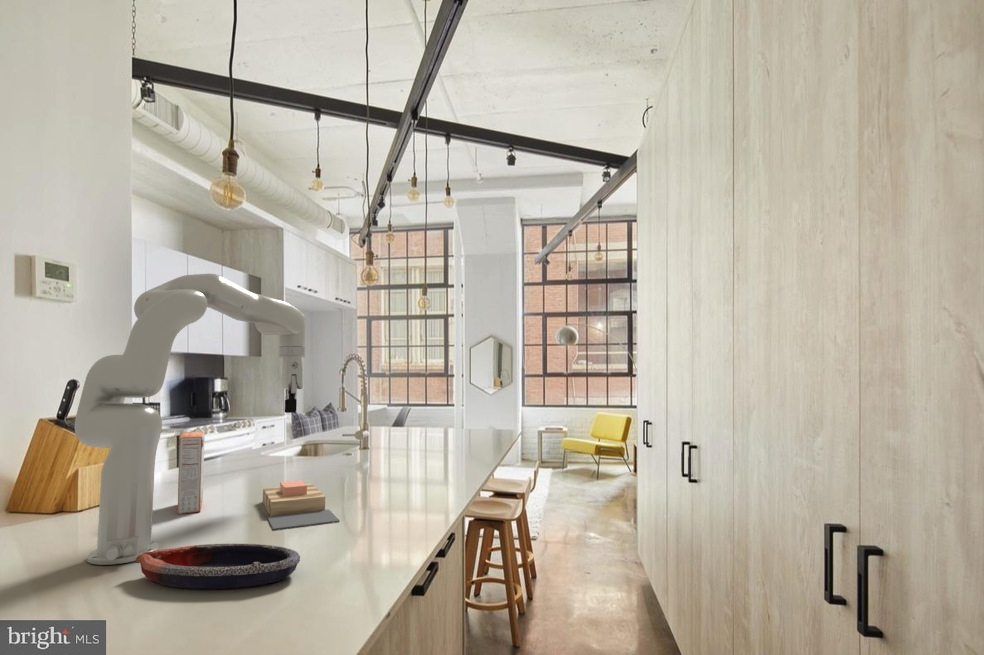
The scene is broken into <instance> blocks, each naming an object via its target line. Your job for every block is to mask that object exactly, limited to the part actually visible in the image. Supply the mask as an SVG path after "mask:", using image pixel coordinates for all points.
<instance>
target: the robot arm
mask: <svg viewBox="0 0 984 655" xmlns="http://www.w3.org/2000/svg"><path fill="white" fill-rule="evenodd" d="M207 308H210V309H212V310H213V311H217V312H218V313H221V314H223V315H225V316H227V317H230V318H232V319H234V320H236V321H241V322H245V323H254V325H255V328H256V330H257V331H258V332H259V333H260V334H263V335H266V336H279V337H278V340H279V342H278V343H279V344H278V345H279V346H278V358H282V364H281V365H282V367H281V368H282V369H281V374H282V375H281V384H282V385H281V386H282V389H283V390H285V393H284V395H285V396H284V397H285V398H284V413H285V414H290V413H292V414H293V413H297V403H298V402H297V401H298V400H297V393H298V392H297V391H298V390H302V389H303V387H304V384H303V382H304V381H303V380H304V378H303V377H304V376H303V358H305V357H306V356H305V355H306V315H305V314H303V313H302V311H300V309H298V308H296V307H295V306H293V305H292V304H290V303H288V302H286V301H283V300H279V299H276V298H273V297H270V296H265V295H263V294H260V293H259V294H258V293H255V292H252V291H250V290H248V289H246V288H244V287H243V286H240V285H238V284H236V283H235V282H233V281H231V280H230V279H227V278H225V277H224V276H221V275H219V274H216V273H199V274H197V273H196V274H195V273H194V274H185V275H180V276H178V277H176V278H174V279H172V280H168V281H166V282H165V283H162V284H160V285H158V286H155V287H152V288H151V289H148V290H146V291H145V292H143V293H141V294H140V295H139V296H138V297H137V299H136V300H135V302H134V305H133V311H134V315H135V317H136V318H137V319H136V321H135V322H134V324H133V325H132V328H131V330H130V332H129V333H130V334H129V336H128V339H127V343H126V345H125V349H124V352H123V353H122V354H111V355H106V356H104V357H101V358H99V359H98V360H96V361H95V362H94V364H92V366H91V367H90V368H89V370H88V372H87V374H86V377H85V381H84V384H83V387H82V392H81V396H80V399H79V402H78V406H77V411H76V414H75V421H74V433H75V436H76V438H77V440H78V442H80V443H81V444H83V445H85V446H87V447H91V448H100V449H101V448H102V449H109V452H108V454H107V456H106V457H105V460H104V462H103V465H102V468H101V472H100V487H99V490H100V492H99V510H98V525H97V528H98V529H97V540H96V541H97V542H96V543H97V544H96V548H95V549H94V550H91V551H90V552H89V553H87V555H86V561H87V563H89V564H92V565H97V566H111V565H121V564H126V563H133V562H136V557H137V556H138V555H140V554H142V553H145V552H152V551H157V550H160V544H159V543H158V542H155V541H152V530H153V529H152V526H153V508H154V488H155V467H156V466H155V465H156V464H155V463H156V456H157V450H158V444H159V442H160V437H161V434H162V431H163V430H162V429H163V420H162V418H161V415H160V413H159V412H158V411H157V410H156V409H155V408H153V407H151V406H149V405H147V404H143V403H126V402H125V400H126V398H127V399H133V398H134V399H137V398H139V399H140V398H141V399H142V398H143V399H144V398H149V397H153V396H155V395H157V394H158V393H160V392H161V390H162V388H163V385H164V382H165V378H166V374H167V369H168V365H169V361H170V356H171V351H172V347H173V344H174V341H175V339H176V337H177V336H178V334H179V333H180V332H181V331H182V330H183V329H185V327H187V326H189V325H190V324H193V323H195V322H198V321H199V320H200V319H201V318H202V317H203V316H204V315H205V313H206V311H207ZM124 402H125V403H124Z"/></svg>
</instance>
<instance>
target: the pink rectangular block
mask: <svg viewBox="0 0 984 655" xmlns="http://www.w3.org/2000/svg"><path fill="white" fill-rule="evenodd" d="M306 484H307V483H305V482H304V481H303V479H297V480H289V481H288V480H287V481H280V483H279V487H280V491H281V492H282V494H283V495H284V496H294V495H304V494H307V485H306Z"/></svg>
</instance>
